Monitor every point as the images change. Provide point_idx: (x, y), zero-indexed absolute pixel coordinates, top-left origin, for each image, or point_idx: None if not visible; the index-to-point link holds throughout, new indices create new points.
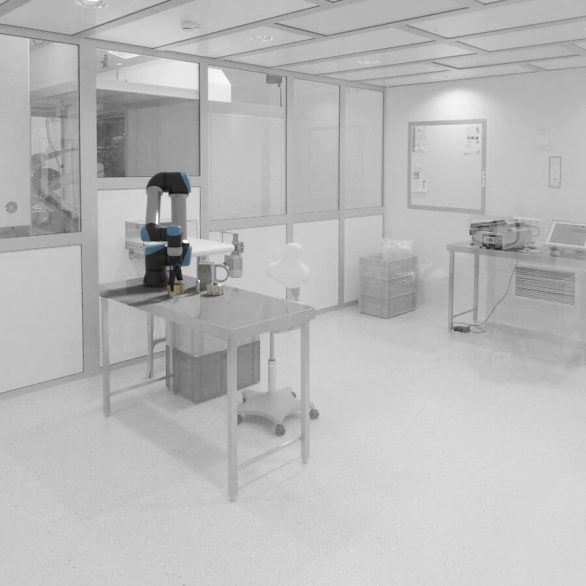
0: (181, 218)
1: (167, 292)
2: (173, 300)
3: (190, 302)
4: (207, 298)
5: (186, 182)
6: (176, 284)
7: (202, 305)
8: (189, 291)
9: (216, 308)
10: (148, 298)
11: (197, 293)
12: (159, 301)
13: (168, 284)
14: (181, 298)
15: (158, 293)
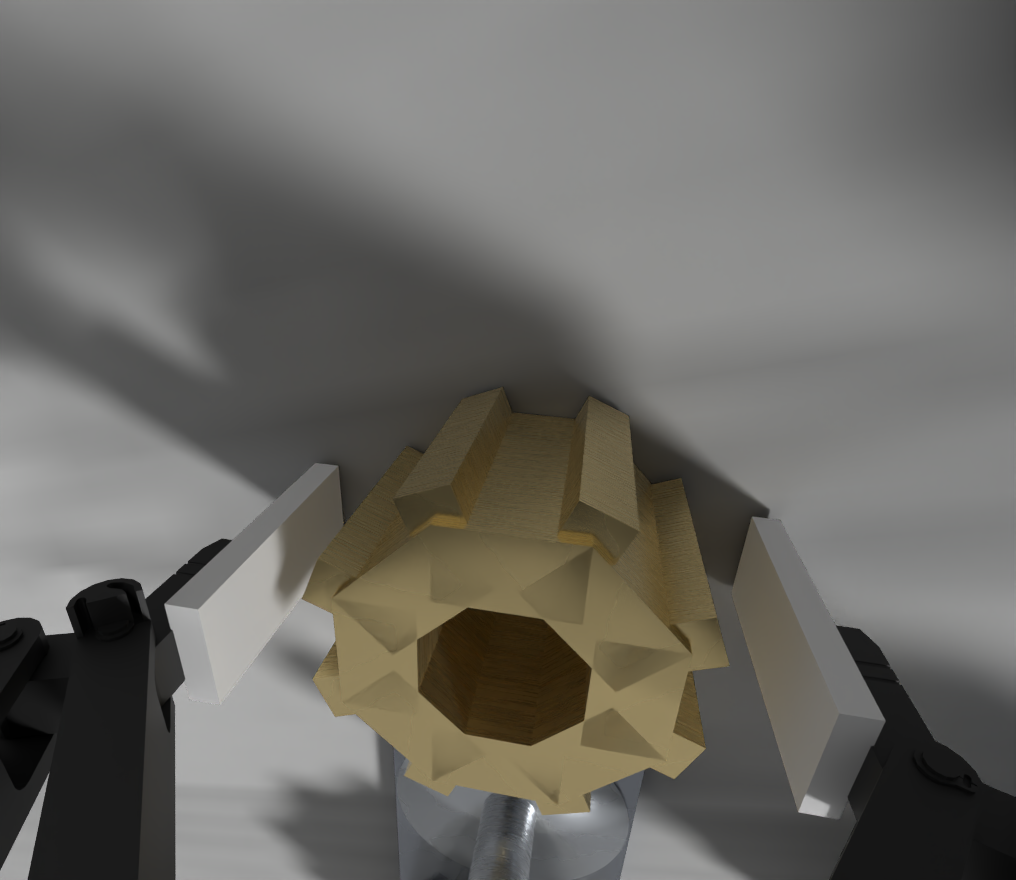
0: None
1: (463, 414)
2: (161, 527)
3: None
4: (371, 848)
5: None
6: (588, 672)
7: None
8: None
9: (6, 867)
10: (166, 41)
11: (482, 812)
12: (26, 339)
13: (84, 602)
14: (311, 612)
15: (731, 132)
